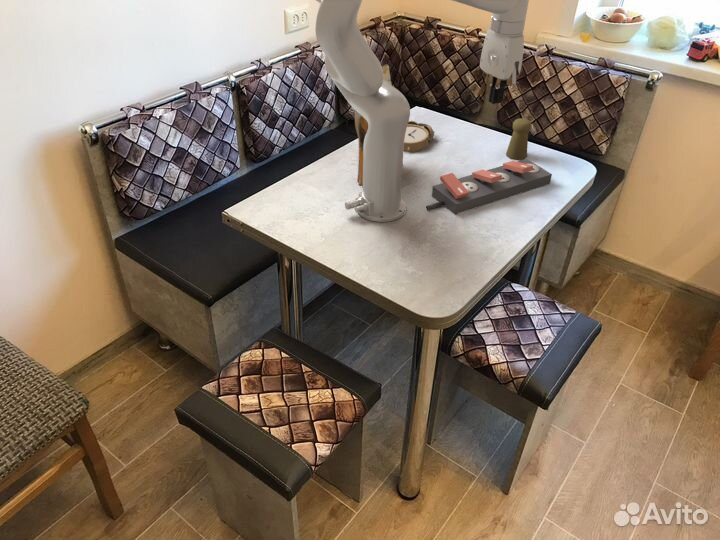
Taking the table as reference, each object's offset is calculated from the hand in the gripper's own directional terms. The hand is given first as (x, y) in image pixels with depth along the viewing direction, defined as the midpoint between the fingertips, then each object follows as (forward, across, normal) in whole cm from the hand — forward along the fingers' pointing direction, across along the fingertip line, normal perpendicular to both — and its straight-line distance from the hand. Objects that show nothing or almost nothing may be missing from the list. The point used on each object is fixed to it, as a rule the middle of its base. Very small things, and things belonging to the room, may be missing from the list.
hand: (495, 101), depth 153 cm
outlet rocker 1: (+20, +4, -13) cm, 24 cm away
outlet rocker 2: (+20, +4, -3) cm, 20 cm away
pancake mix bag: (+23, -19, -23) cm, 38 cm away
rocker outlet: (+20, +4, +8) cm, 22 cm away
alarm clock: (+24, -30, -3) cm, 38 cm away
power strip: (+23, +4, -2) cm, 24 cm away
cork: (+23, -8, +19) cm, 31 cm away
